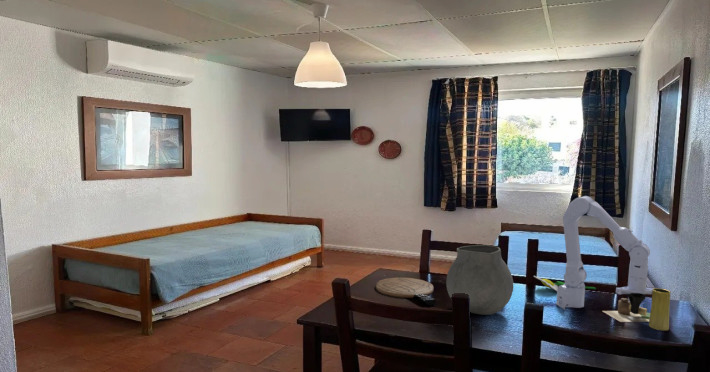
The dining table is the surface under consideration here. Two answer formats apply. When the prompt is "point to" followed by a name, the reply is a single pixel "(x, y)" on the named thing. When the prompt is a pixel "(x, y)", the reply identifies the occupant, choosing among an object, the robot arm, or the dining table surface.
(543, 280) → the decorative flower
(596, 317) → the dining table surface
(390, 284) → the trivet
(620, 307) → the knob
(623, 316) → the tuner board
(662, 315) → the vase
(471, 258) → the ceramic pot
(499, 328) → the dining table surface
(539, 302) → the dining table surface
